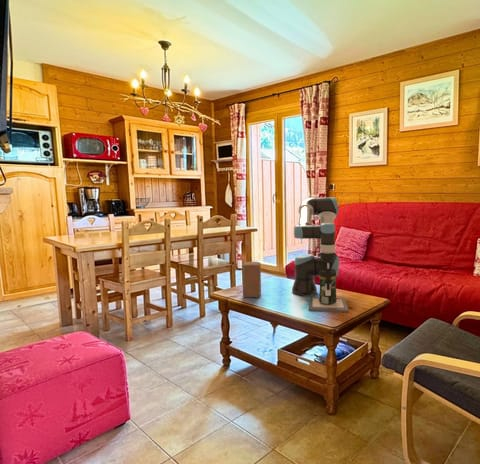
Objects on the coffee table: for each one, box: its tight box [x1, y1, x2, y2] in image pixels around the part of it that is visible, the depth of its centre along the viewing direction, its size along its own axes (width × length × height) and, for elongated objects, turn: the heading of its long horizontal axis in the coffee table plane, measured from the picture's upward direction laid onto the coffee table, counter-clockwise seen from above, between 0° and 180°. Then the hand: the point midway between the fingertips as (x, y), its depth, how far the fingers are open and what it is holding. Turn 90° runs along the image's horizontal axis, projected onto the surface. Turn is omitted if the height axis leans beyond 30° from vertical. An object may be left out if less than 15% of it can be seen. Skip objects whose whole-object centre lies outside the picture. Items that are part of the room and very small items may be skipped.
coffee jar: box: [318, 269, 338, 305], centre depth 189 cm, size 10×8×19 cm
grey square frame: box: [308, 296, 350, 313], centre depth 190 cm, size 20×20×2 cm
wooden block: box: [241, 261, 262, 298], centre depth 211 cm, size 10×10×20 cm
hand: (327, 292), depth 190 cm, fingers open, 10 cm apart
